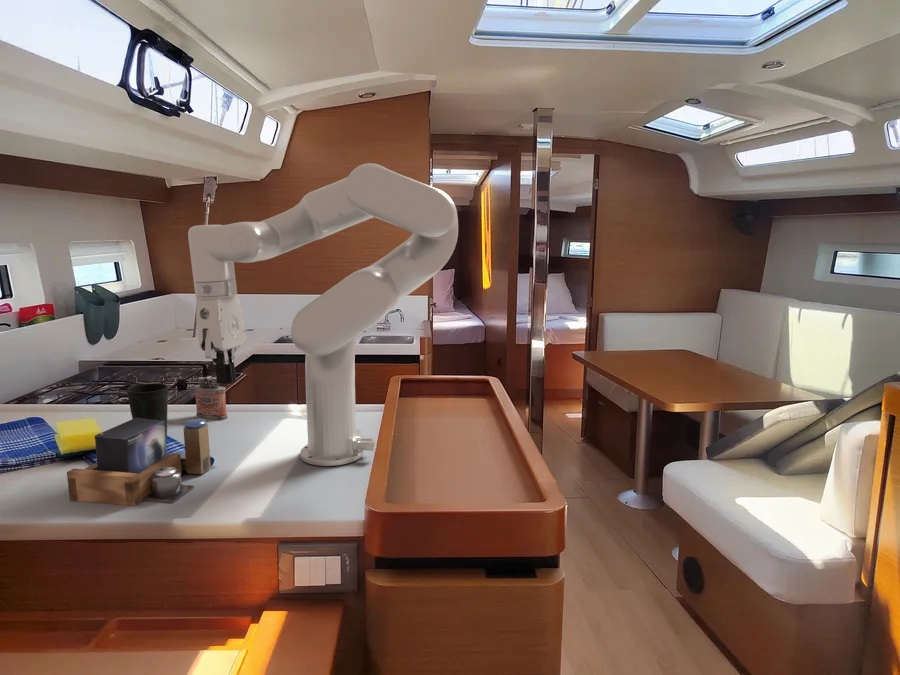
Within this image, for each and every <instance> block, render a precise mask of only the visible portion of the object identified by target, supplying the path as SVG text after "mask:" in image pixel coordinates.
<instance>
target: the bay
mask: <svg viewBox="0 0 900 675" xmlns="http://www.w3.org/2000/svg"><path fill="white" fill-rule="evenodd" d="M172 453H173V454H171V455H169V456H167V457H166V458H164V459H162V460H161V461H159V462H157V463H156V464H154V465H152V466H151V467H149V468H147V469H146V470H144V471H142V472H141V473H139V474H138V473H126V472H113V471H100V470H98V467H97V462H95V463H93V464H91V465H89V466H87V467H85V468H71V469H70V470H68V471H66V478H67V486H68V494H69V495H68V496H69V501H74V502H84V503H85V502H86V503H96V504H97V503H99V504H107V505H110V504H111V505H120V506H122V505H123V506H131V507H132V506H133V507H135V506H137V505H138V504H140V503H141V502H143V498H144V497H145V496H147V495H148V494H150V493H151V492H152V483H151V475H152V474H153V473H155V472H156V471H157V470H158V469H161V468H165V467H174V468H176V469H178V470H180V471H181V476H182V475H183V471H182V467H181V454H182V453H174V452H172Z"/></svg>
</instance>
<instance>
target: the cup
mask: <svg viewBox="0 0 900 675" xmlns="http://www.w3.org/2000/svg"><path fill="white" fill-rule="evenodd" d="M126 393H127V400H128V404H129V410H130V414H131V418H132V419H134V418H144V419H153V420H164V421H165V437H167V438H168V403H169V402H168V396H169V395H168V394H169V386H168V385H167V384H165V383H161V382H160V383H159V382H157V383H155V382H154V383H153V382H152V383H144V384H143V383H142V384H138V385H133V386H131V387H129V388H127V390H126ZM132 419H131V420H132Z"/></svg>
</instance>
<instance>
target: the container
mask: <svg viewBox="0 0 900 675" xmlns="http://www.w3.org/2000/svg"><path fill="white" fill-rule="evenodd" d="M209 437H210V436H209V424H208V423H207V420H206V419H200V418H193V419H187V420H186V421H184V427H183V442H184V453H180V454H181V467H182V472H183V471H185V472H186V473H187V474H195V475H203V474H204V473H205V472H207V471H209V470H210V469H212V466H211V454H210V453H211V452H210V450H211V449H210V439H209ZM173 453H174V452H172V453H171V452H167V456H169V455H171V454H173Z"/></svg>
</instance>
